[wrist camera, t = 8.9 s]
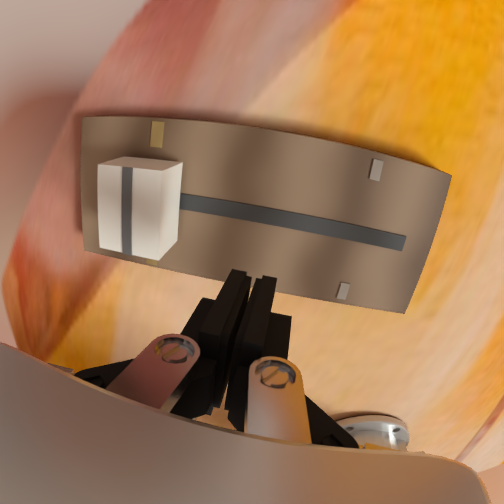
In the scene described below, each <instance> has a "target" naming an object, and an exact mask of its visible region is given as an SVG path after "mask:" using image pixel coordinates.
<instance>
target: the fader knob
mask: <svg viewBox="0 0 504 504" xmlns="http://www.w3.org/2000/svg"><path fill="white" fill-rule="evenodd" d="M182 166H183V162H176V161H167V160H157V159H148V158H137V157H126V156H124V157H121V158H117V159H114V160H110V161H107V162H104V163H100V164H98V176H97V192H98V227H99V245H100V248H104V249H108V250H113V251H117V252H121V253H122V254H126V255H135V256H139V257H144V258H149V259H153V260H158V261H159V260H160V259H161V258H162V257H163V255H164V254H165V253H166V252H167V251H168V250H169V249H170V248H171V247H172V246H173V245H174V244H175V243H176V241H177V237H178V219H179V203H180V190H181V177H182Z"/></svg>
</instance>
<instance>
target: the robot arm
mask: <svg viewBox="0 0 504 504" xmlns="http://www.w3.org/2000/svg"><path fill="white" fill-rule="evenodd" d="M251 280H252V277H250V276H247V272H246V271H241V270H236V269H232V270H231V272H230V273H229V275H228V277H227V279H226V281H225V283H224V285H223V287H222V289H221V290H220V292H219V294H218V296H217V298H216V300H212V299H208V298H202V299H201V301H200V302H199V304H198V306H197V307H196V309H195V311H194V312H193V314H192V316H191V317H190V319H189V321H188V322H187V324H186V326H185V327H184V329H183V331H182V332H181V334H166V335H162V336H160V337H157V338H156V339H155V340H153V341H152V342H151V343H150V344H149V345H148V346H147V347H146V348H145V349H144V350H143V351H142V352H141V353H140V354H139V355H138V356H137V357H136V358H135V359H131V360H126V361H122V362H117V363H113V364H108V365H104V366H99V367H94V368H89V369H85V370H82V371H79V372H77V373H74V371H73V369H70V368H65V367H61V366H57V365H53V364H50V363H46V362H44V361H42V360H40V359H38V358H36V357H34V356H31V355H29V354H27V353H25V352H23V351H21V350H19V349H17V348H14V347H12V346H9V345H7V344H4V343H1V342H0V504H491V501H490V498H489V495H488V492H487V490H486V488H485V485H484V483H483V481H482V480H481V478H480V477H479V475H478V474H477V473H476V472H475V471H474V470H473V469H472V468H470V467H469V466H467V465H465V464H463V463H460V462H458V461H455V460H452V459H448V458H445V457H442V456H436V455H431V454H426V453H425V452H423V451H422V452H408V451H407V449H406V446H407V445H408V443H409V431H408V428H407V426H406V425H405V423H403V422H402V421H400V420H398V419H396V418H393V417H388V416H383V415H365V416H357V417H350V418H346V419H342V420H339V421H336V422H335V421H334V420H333V419H332V418H331V417H330V416H328V415H327V414H326V413H325V412H324V411H323V410H322V409H320V408H319V407H318V406H317V405H316V404H315V403H314V402H313V401H312V400H310V399H309V398H308V397H307V396H306V395H305V394H304V388H303V381H302V375H301V373H300V370H299V369H298V368H297V367H296V365H294V364H293V363H292V362H290V361H288V360H287V358H288V349H289V339H290V329H291V319H292V317H291V316H287V315H282V314H277V313H272V312H271V308H272V303H273V298H274V293H275V288H276V283H277V278H275V277H270V276H265V275H263V276H262V279H260V278H256V280H255V283H254V286H253V289H252V292H251V295H250V298H249V292H250V286H251ZM248 298H249V301H248ZM227 384H228V388H227V395H226V401H225V408H224V409H225V410H229V413H228V420H229V421H230V422H231V423H232V425H233V426H234V427H235V428H236V429H237V430H236V431H235V430H231V429H227V428H222V427H218V426H214V425H210V424H207V423H203V422H199V421H196V418H197V417H199V416H202V415H204V414H207V415H211V413H212V410H213V407H217V408H220V405H221V402H222V399H223V396H224V393H225V390H226V387H227Z"/></svg>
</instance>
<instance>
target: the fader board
mask: <svg viewBox="0 0 504 504" xmlns="http://www.w3.org/2000/svg"><path fill="white" fill-rule="evenodd" d="M124 156H126V157H137V158H148V159H157V160H167V161H176V162H183V166H182V177H181V190H180V203H179V219H178V237H177V241H176V243H175V244H174V245H173V246H172V247H171V248H170V249H169V250H168V251H167V252H166V253H165V254H164V255H163V257H162V258H161V259H160V260H159V261H158V260H153V259H149V258H144V257H139V256H135V255H126V254H122V253H121V252H117V251H113V250H108V249H104V248H100V245H99V227H98V192H97V176H98V164H100V163H104V162H107V161H110V160H114V159H117V158H121V157H124ZM451 177H452V175H450V174H447V173H445V172H443V171H441V170H438V169H435V168H432V167H429V166H426V165H423V164H419V163H416V162H413V161H410V160H406V159H403V158H399V157H396V156H392V155H389V154H385V153H382V152H378V151H374V150H370V149H366V148H362V147H358V146H354V145H350V144H346V143H341V142H337V141H332V140H328V139H323V138H318V137H313V136H308V135H303V134H297V133H292V132H286V131H280V130H274V129H268V128H261V127H255V126H247V125H240V124H232V123H224V122H214V121H205V120H194V119H181V118H166V117H146V116H89V117H82V133H81V212H82V229H83V242H84V250H85V251H89V252H93V253H97V254H101V255H105V256H110V257H114V258H118V259H122V260H127V261H131V262H135V263H140V264H144V265H149V266H153V267H158V268H162V269H167V270H171V271H176V272H180V273H185V274H190V275H194V276H199V277H204V278H209V279H214V280H218V281H223V282H225V281H226V279H227V277H228V275H229V273H230V272H231V270H232V269H236V270H241V271H246V272H247V276H250V277H252V280H251V286H250V287H253V286H254V283H255V280H256V278H260V279H262V276H263V275H265V276H270V277H275V278H277V283H276V288H275V292H280V293H285V294H290V295H296V296H301V297H307V298H312V299H318V300H324V301H329V302H335V303H341V304H347V305H353V306H359V307H365V308H371V309H377V310H383V311H390V312H396V313H403V314H405V311H406V309H407V307H408V305H409V302H410V300H411V297H412V295H413V293H414V290H415V288H416V285H417V283H418V280H419V278H420V275H421V273H422V270H423V267H424V265H425V262H426V259H427V256H428V254H429V251H430V248H431V245H432V242H433V239H434V236H435V233H436V230H437V227H438V224H439V220H440V217H441V214H442V210H443V207H444V204H445V200H446V196H447V193H448V189H449V185H450V181H451Z"/></svg>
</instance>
